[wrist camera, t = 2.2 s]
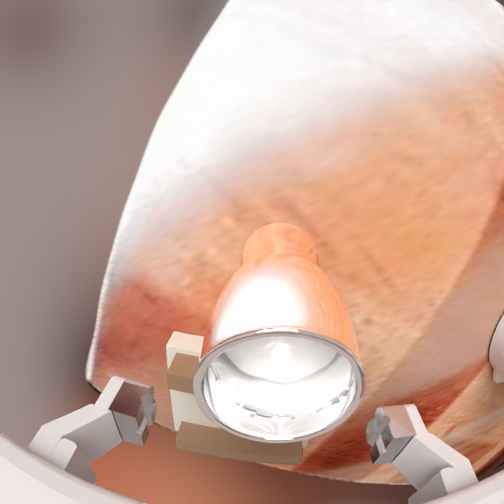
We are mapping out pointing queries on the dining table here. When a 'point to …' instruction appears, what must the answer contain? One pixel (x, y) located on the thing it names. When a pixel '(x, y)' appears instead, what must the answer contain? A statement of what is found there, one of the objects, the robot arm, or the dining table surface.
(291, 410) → the beer glass
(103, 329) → the dining table surface
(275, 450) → the stand
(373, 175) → the dining table surface
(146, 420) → the robot arm
